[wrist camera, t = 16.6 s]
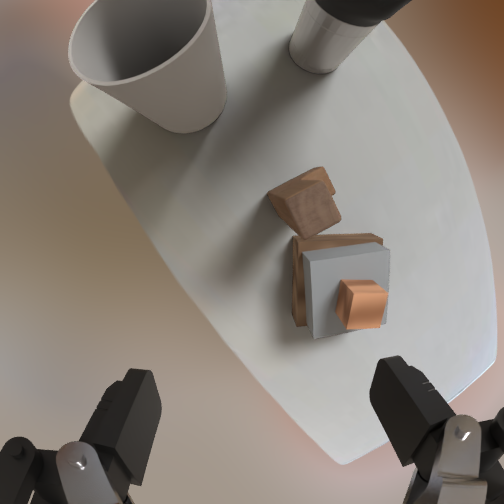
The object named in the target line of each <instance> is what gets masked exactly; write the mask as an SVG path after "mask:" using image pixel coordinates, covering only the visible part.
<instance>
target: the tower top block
mask: <svg viewBox="0 0 504 504" xmlns="http://www.w3.org/2000/svg"><path fill="white" fill-rule="evenodd" d="M302 257H303V270H304V285H305V301H306V320H307V325H308V327H309V330H310V332H311V334H312V337H313V339H317V338H323V337H328V336H333V335H338V334H343V333H348V332H352V331H357V330H361V329H347V330H346V328H345V326H344V325H343V323H342V322H341V320H340V319H339V317H338V316H337V314H336V313H335V310H336V305H337V299H338V294H339V288H340V282H341V279H349V280H373V281H375V282H376V283H377V284H378V285H379V286H380V287H382V288H383V289H384V290H385V291H386V292H389V273H390V249H388V248H386V247H384V246H382V245H380V244H378V243H376V242H371V243H364V244H357V245H349V246H342V247H335V248H327V249H320V250H313V251H305V252H302ZM387 306H388V297H387V301H386V306H385V310H384V314H383V318H382V321H381V325H382V324H386V317H387Z"/></svg>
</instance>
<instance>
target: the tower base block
mask: <svg viewBox="0 0 504 504" xmlns="http://www.w3.org/2000/svg"><path fill="white" fill-rule="evenodd" d="M371 242H376V243H378V244H380V245H382V246H383V239H382V238H380V237H378V236H376V235H374V234H372V233H362V234H328V235H314V236H313V237H311V238H309V239H307V240H303V239H302V238H301V237H300V236H293V291H292V315H293V318H294V321H295V323H296V326H297V327H298V326H308V325H307V320H306V301H305V285H304V270H303V257H302V252H305V251H313V250H320V249H327V248H335V247H342V246H349V245H357V244H364V243H371Z"/></svg>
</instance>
